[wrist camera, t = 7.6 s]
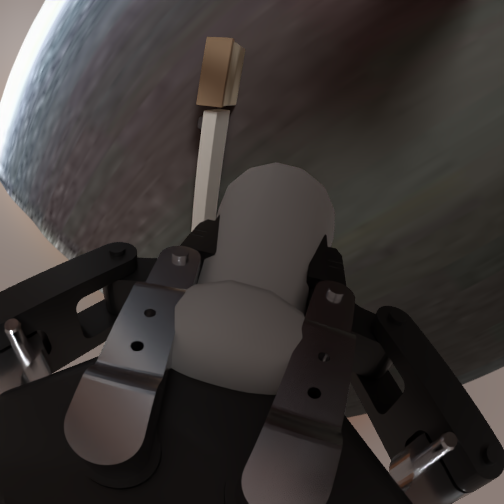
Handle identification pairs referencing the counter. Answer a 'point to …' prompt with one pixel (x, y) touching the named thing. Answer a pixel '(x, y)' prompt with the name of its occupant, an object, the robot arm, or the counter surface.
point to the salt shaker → (254, 281)
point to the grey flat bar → (209, 164)
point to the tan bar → (220, 72)
